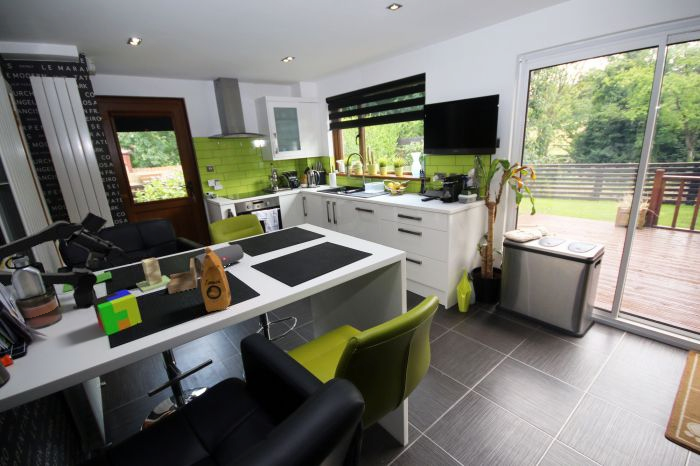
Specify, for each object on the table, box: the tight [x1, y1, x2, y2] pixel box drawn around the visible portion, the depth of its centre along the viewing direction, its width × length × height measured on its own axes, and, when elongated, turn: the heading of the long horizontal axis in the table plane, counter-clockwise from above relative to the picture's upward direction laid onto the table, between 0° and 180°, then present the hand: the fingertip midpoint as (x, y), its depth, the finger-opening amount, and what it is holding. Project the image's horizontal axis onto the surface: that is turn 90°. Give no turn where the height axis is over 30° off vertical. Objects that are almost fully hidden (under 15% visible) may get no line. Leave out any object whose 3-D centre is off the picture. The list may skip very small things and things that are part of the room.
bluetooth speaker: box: [193, 243, 245, 274], centre depth 159 cm, size 23×9×10 cm, turn 143°
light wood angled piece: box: [166, 257, 198, 295], centre depth 139 cm, size 11×13×10 cm
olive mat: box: [135, 274, 171, 293], centre depth 144 cm, size 12×12×1 cm
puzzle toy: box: [92, 289, 143, 336], centre depth 110 cm, size 10×10×10 cm
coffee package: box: [200, 246, 232, 313], centre depth 118 cm, size 10×12×22 cm
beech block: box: [141, 257, 162, 286], centre depth 142 cm, size 5×5×11 cm
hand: (129, 260), depth 135 cm, fingers open, 9 cm apart
